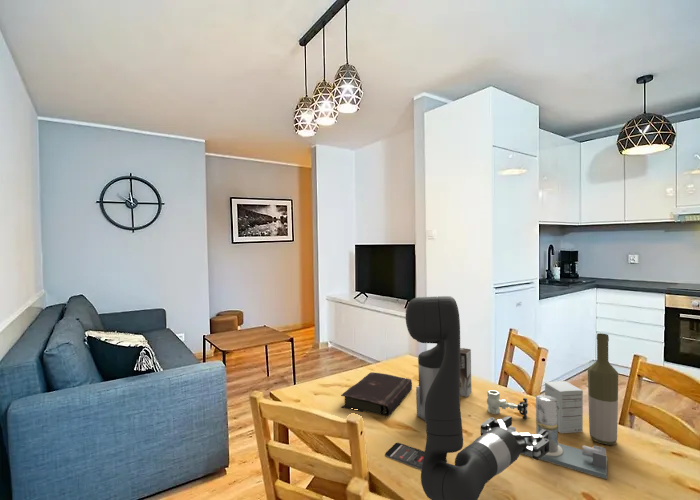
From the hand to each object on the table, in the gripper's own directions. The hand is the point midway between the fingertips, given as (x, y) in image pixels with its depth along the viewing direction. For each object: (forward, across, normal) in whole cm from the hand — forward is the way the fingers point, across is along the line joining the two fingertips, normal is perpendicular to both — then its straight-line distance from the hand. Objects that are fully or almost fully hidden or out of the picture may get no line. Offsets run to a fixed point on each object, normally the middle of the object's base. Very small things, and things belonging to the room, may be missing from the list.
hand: (527, 426), depth 90 cm
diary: (0, +54, +11) cm, 55 cm away
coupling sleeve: (+10, 0, +9) cm, 14 cm away
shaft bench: (+10, 0, +10) cm, 15 cm away
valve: (+23, +17, +11) cm, 31 cm away
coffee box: (+26, +38, +11) cm, 47 cm away
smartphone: (-18, +21, +11) cm, 30 cm away
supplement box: (+28, +2, +11) cm, 30 cm away
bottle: (+28, -8, +11) cm, 31 cm away
